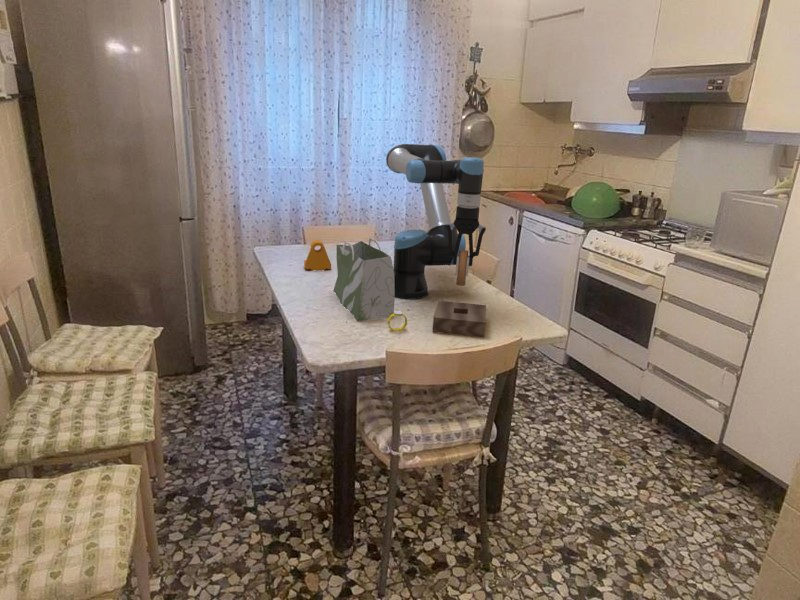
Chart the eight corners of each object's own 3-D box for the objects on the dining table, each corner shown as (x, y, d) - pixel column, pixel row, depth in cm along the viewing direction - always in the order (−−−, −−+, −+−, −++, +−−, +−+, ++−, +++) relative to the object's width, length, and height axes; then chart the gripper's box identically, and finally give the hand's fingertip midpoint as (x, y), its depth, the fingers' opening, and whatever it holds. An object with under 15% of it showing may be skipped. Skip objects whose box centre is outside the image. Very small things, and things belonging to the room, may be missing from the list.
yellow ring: (404, 328, 167) (406, 310, 165) (406, 332, 164) (409, 314, 162) (386, 328, 165) (388, 310, 163) (388, 331, 162) (390, 313, 160)
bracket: (329, 265, 229) (329, 238, 225) (331, 270, 222) (331, 242, 218) (304, 266, 227) (303, 238, 223) (305, 271, 220) (304, 242, 216)
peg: (456, 285, 182) (459, 251, 178) (456, 282, 184) (459, 249, 180) (464, 286, 181) (468, 252, 177) (465, 283, 184) (468, 250, 180)
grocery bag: (329, 291, 197) (329, 230, 189) (365, 288, 202) (366, 228, 194) (355, 322, 169) (357, 252, 161) (395, 318, 174) (399, 249, 166)
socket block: (432, 332, 164) (433, 317, 162) (437, 314, 179) (438, 300, 177) (484, 337, 162) (485, 322, 160) (484, 319, 177) (486, 305, 175)
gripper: (443, 206, 171) (437, 275, 179) (492, 210, 169) (484, 279, 177) (445, 202, 178) (439, 269, 186) (492, 206, 176) (484, 273, 184)
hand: (461, 274), depth 182 cm, fingers closed on peg, 3 cm apart
